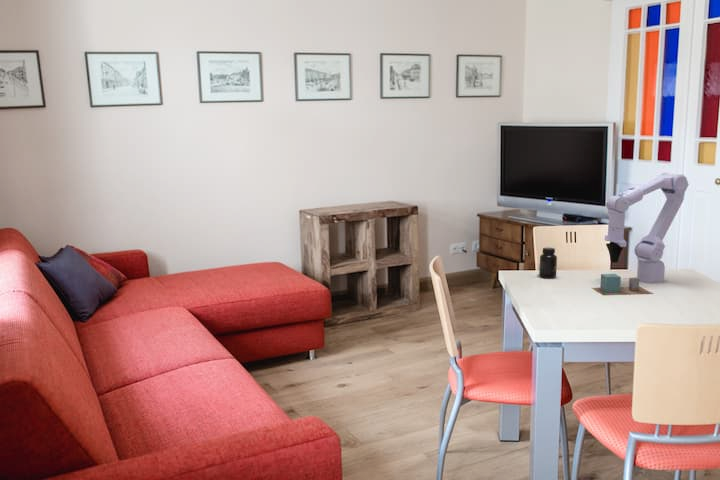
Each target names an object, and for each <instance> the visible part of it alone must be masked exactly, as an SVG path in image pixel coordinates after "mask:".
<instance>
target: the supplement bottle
mask: <svg viewBox="0 0 720 480" xmlns="http://www.w3.org/2000/svg"><path fill="white" fill-rule="evenodd" d="M555 253H556V248H555V247H543V248H542V254H541V255H539V268H538V269H539V271H538V275H539V277H540V278H542V279H555V278H556V277H557V267H558V266H557V265H558V257H557V255H555Z"/></svg>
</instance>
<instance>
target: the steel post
mask: <svg viewBox="0 0 720 480" xmlns="http://www.w3.org/2000/svg"><path fill="white" fill-rule="evenodd" d="M628 280H629V281H628V287H629V290H630V291H639V286H640V282H639V279H638V278H637V277H629V279H628Z"/></svg>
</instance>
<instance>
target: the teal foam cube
mask: <svg viewBox="0 0 720 480" xmlns="http://www.w3.org/2000/svg"><path fill="white" fill-rule="evenodd" d="M621 278H622V277H621V276H620V275H618V274H616V273H601V274H600V287H599V288H600V290H602V291H603V292H605V293H620V287H621V282H622V279H621Z"/></svg>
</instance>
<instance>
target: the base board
mask: <svg viewBox="0 0 720 480" xmlns="http://www.w3.org/2000/svg"><path fill="white" fill-rule="evenodd" d="M591 289H592V290H594V291H596V292H597V293H599V294H600V295H602V296H625V295H626V296H630V295H632V296H633V295H636V296H637V295H654V292H651V291H649V290H648V289H645V288H644V287H642V286H640V285H639V291H630V290H629V286H620V293H605V292H603V291H602V290H600V287H591Z"/></svg>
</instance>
